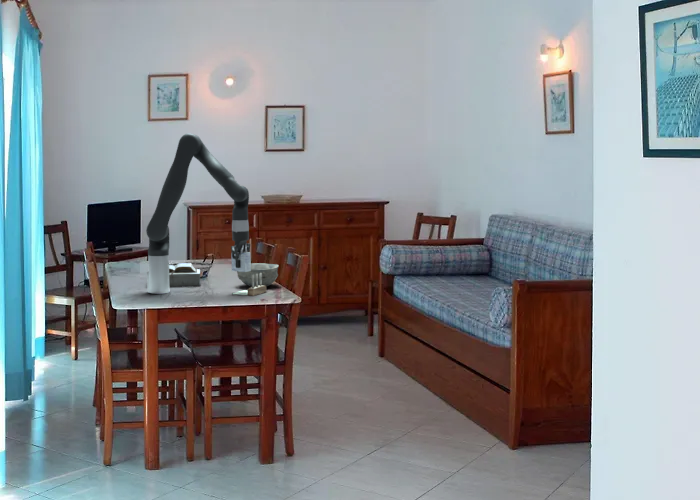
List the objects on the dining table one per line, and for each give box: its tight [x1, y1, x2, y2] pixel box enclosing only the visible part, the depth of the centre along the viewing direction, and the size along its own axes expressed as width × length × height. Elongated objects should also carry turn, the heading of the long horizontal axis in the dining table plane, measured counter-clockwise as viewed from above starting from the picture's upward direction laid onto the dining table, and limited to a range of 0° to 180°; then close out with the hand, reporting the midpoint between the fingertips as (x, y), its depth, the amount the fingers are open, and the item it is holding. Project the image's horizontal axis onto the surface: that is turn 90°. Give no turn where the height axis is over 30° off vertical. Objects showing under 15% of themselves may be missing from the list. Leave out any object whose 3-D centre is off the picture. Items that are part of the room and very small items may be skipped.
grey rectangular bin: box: [169, 262, 201, 288], centre depth 441 cm, size 23×27×10 cm
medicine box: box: [231, 251, 252, 272], centre depth 412 cm, size 8×4×9 cm, turn 58°
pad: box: [232, 289, 248, 296], centre depth 413 cm, size 8×10×1 cm
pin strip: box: [246, 273, 267, 297], centre depth 410 cm, size 3×12×9 cm, turn 157°
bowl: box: [236, 262, 279, 288], centre depth 432 cm, size 21×21×10 cm
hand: (241, 267), depth 412 cm, fingers closed on medicine box, 5 cm apart
